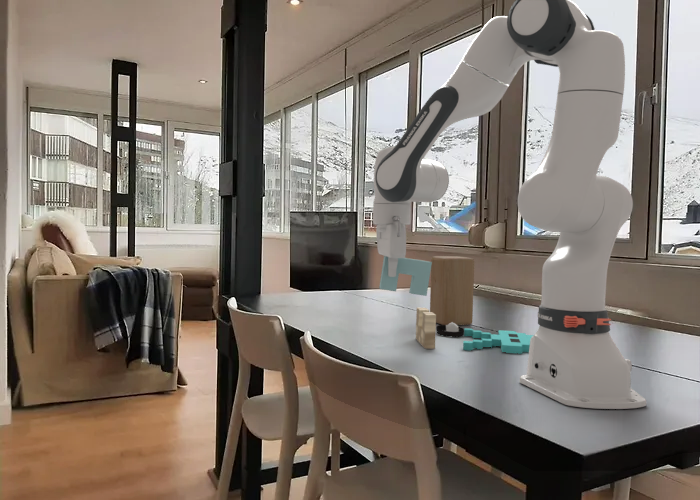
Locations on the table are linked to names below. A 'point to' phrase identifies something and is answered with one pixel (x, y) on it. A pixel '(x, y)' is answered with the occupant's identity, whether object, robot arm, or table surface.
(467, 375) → the table surface
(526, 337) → the alien figure
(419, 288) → the teal plate
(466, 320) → the wooden block
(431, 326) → the birch board
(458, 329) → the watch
